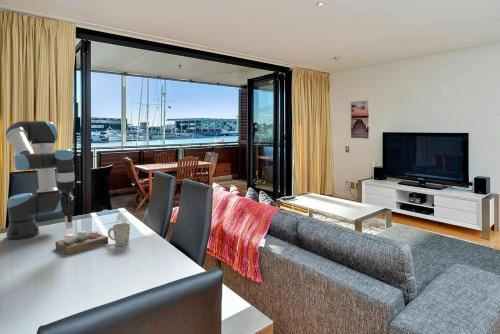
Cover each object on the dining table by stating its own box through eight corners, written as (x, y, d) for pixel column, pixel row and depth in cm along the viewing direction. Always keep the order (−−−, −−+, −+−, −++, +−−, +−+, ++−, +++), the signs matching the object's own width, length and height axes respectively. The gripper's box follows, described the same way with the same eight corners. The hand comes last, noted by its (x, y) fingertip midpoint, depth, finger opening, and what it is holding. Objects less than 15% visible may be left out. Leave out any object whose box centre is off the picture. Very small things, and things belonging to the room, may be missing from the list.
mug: (124, 247, 162) (123, 228, 161) (102, 245, 165) (101, 226, 164) (134, 241, 170) (133, 223, 169) (112, 240, 173) (111, 222, 172)
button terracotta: (87, 239, 169) (87, 232, 168) (96, 237, 172) (95, 230, 172) (91, 241, 166) (91, 234, 166) (100, 239, 170) (99, 231, 169)
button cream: (63, 243, 159) (62, 235, 159) (72, 240, 163) (72, 233, 162) (67, 244, 157) (66, 237, 156) (76, 242, 160) (75, 234, 160)
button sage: (75, 239, 164) (75, 232, 164) (84, 237, 167) (84, 230, 167) (79, 241, 161) (79, 233, 161) (88, 239, 165) (88, 231, 164)
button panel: (55, 248, 161) (55, 241, 161) (95, 237, 177) (95, 231, 176) (67, 254, 153) (67, 247, 152) (108, 243, 168) (107, 236, 168)
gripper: (52, 180, 157) (55, 227, 160) (63, 183, 149) (66, 232, 152) (68, 178, 163) (71, 224, 166) (79, 181, 155) (83, 228, 158)
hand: (69, 227), depth 159 cm, fingers closed
